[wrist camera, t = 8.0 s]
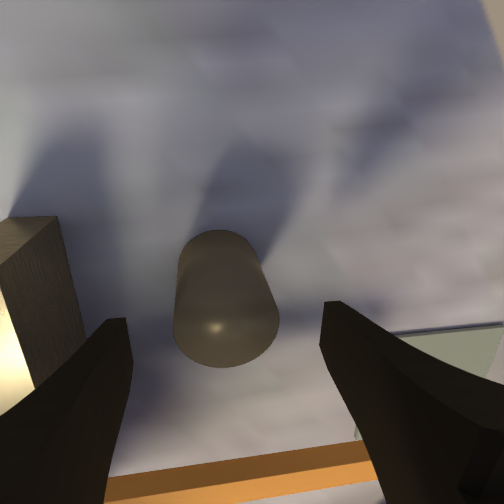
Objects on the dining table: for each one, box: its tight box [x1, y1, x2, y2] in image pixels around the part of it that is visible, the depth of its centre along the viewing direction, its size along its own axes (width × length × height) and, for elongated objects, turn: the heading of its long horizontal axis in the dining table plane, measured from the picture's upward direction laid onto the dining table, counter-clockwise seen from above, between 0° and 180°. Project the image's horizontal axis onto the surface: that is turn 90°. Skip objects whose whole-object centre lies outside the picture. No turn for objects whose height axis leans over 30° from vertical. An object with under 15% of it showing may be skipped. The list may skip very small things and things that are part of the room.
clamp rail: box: [0, 216, 86, 415], centre depth 15 cm, size 2×13×5 cm, turn 179°
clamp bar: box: [104, 440, 378, 504], centre depth 15 cm, size 16×2×1 cm, turn 89°
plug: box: [173, 230, 279, 368], centre depth 15 cm, size 4×4×5 cm
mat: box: [355, 324, 504, 440], centre depth 23 cm, size 9×9×1 cm
